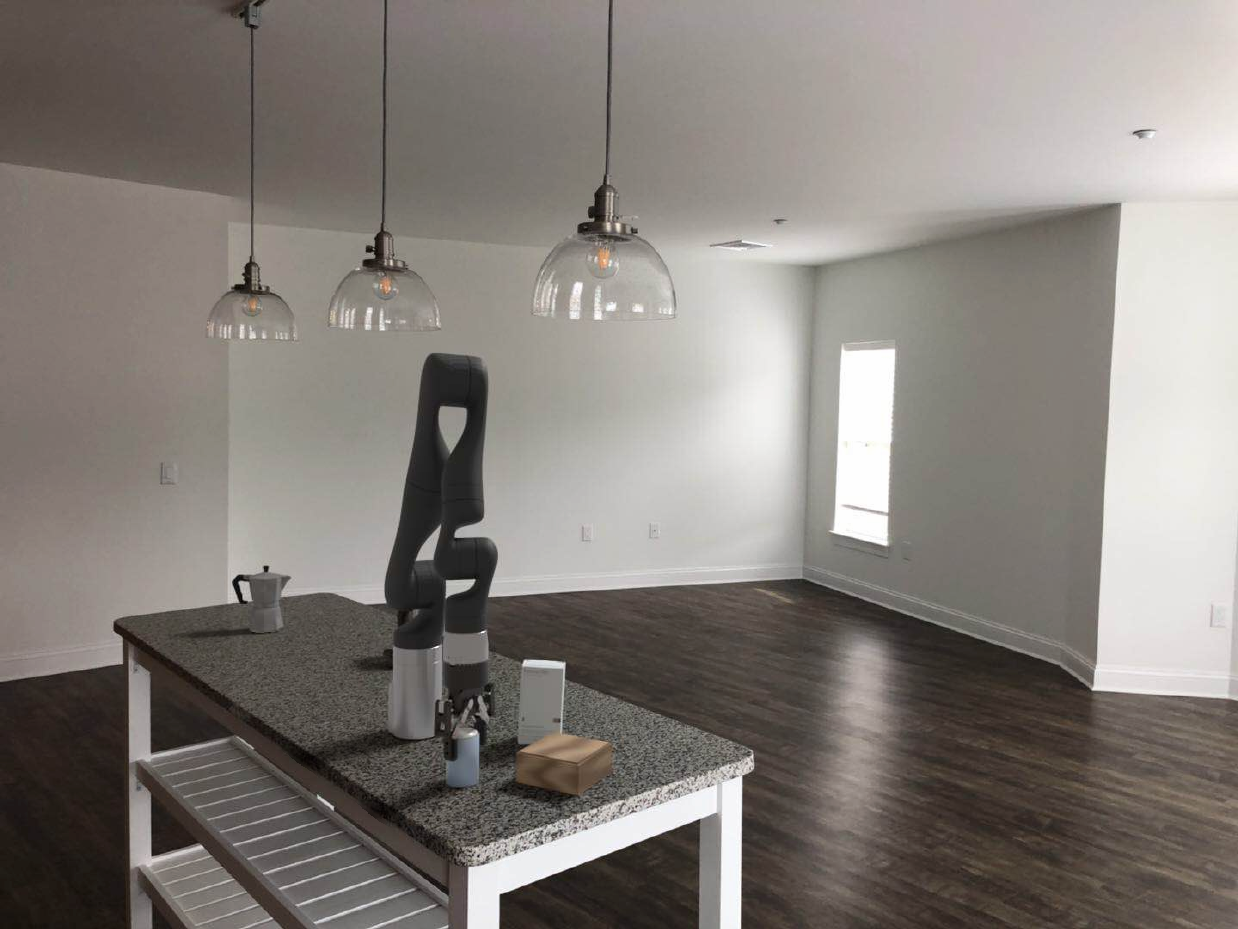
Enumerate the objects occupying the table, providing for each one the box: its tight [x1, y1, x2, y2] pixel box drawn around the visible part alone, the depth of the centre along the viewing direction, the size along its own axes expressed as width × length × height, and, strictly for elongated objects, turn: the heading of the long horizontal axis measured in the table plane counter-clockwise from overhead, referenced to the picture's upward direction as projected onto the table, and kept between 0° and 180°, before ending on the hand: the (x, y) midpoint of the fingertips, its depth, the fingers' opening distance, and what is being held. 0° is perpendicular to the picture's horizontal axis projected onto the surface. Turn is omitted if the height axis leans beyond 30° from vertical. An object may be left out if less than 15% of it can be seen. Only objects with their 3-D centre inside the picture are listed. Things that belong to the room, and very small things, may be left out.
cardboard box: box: [515, 732, 613, 796], centre depth 168 cm, size 12×12×5 cm
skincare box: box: [517, 659, 566, 745], centre depth 186 cm, size 8×6×15 cm
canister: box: [445, 727, 480, 788], centre depth 165 cm, size 5×5×8 cm
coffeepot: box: [231, 564, 292, 631], centre depth 271 cm, size 15×9×18 cm, turn 103°
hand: (465, 752), depth 165 cm, fingers open, 8 cm apart
